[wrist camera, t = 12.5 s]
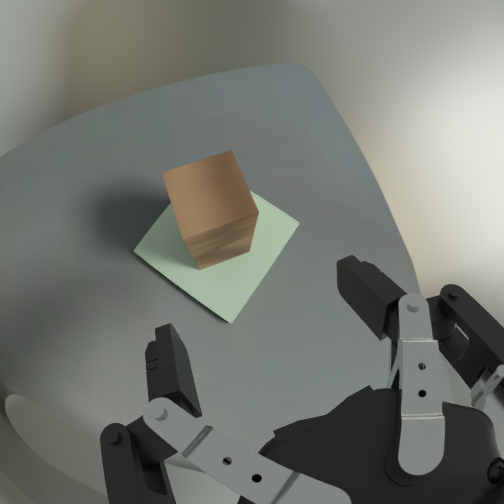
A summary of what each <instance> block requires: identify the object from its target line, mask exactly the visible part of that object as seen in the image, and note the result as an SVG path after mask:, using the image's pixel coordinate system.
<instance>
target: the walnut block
mask: <svg viewBox="0 0 504 504" xmlns="http://www.w3.org/2000/svg"><path fill="white" fill-rule="evenodd" d="M162 175H163V178H164V181H165V185H166V188H167V191H168V195H169V198H170V201H171V204H172V207H173V211H174V214H175V217H176V220H177V223H178V226H179V229H180V232H181V235H182V238H183V240H184V242H185V244H186V246H187V248H188V249H189V251H190V253H191V255H192V257H193V258H194V260H195V262H196V264H197V265H198V267H199V269H200V270H202V269H205V268H207V267H210V266H213V265H215V264H218V263H221V262H223V261H226V260H229V259H231V258H234V257H237V256H239V255H242V254H245V253H247V252H249V251H250V247H251V243H252V239H253V235H254V231H255V227H256V223H257V219H258V215H259V211H258V208H257V206H256V204H255V202H254V199H253V197H252V195H251V193H250V190H249V188H248V186H247V184H246V181H245V179H244V177H243V175H242V172H241V170H240V168H239V166H238V164H237V161H236V159H235V157H234V155H233V152H232V150H230V151H227V152H224V153H221V154H217V155H214V156H211V157H208V158H205V159H202V160H199V161H196V162H193V163H190V164H187V165H184V166H181V167H178V168H175V169H173V170H170V171H167V172H164V173H162Z"/></svg>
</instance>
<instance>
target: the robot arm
mask: <svg viewBox="0 0 504 504" xmlns="http://www.w3.org/2000/svg"><path fill="white" fill-rule="evenodd" d="M337 286H338V290H339V293H340V295H341V296H342V297H343V299H344V300H345V301H346V302H347V303H348V304H349V305H350V306H351V308H352V309H353V310H354V311H355V312H356V313H357V314H358V315H359V317H360V318H361V319H362V320H363V321H364V322H365V323H366V325H367V326H368V327H369V328H370V329H371V330H372V332H373V333H374V334H375V335H376V336H377V337H378V338H379V340H380V341H381V340H382V339H384V338H386V337H389V338H390V339H391V341H390V359H389V377H388V382H387V388H384V389H376V390H373V389H372V388H371V387H370V385H369V386H367V387H365V388H363V389H362V390H360V391H358V392H356V393H354V394H353V395H351V396H349V397H347V398H346V399H345V400H344V401H343V402H341V403H340V404H339V405H338V406H337V407H336V408H334V409H333V410H332V411H331V412H330V413H328V414H326V415H323V416H319V417H314V418H309V419H304V420H299V421H296V422H294V423H292V424H289V425H287V426H284V427H282V428H279V429H277V430H274V431H273V432H274V434H275V437H274V438H272V439H271V440H270V441H268V442H267V443H266V444H265V445H264V446H263V447H262V448H261V450H260V451H259V452H258V453H256V452H254V451H252V450H250V449H249V448H247V447H245V446H243V445H241V444H240V443H238V442H236V441H235V440H233V439H231V438H229V437H228V436H226V435H224V434H223V433H221V432H220V431H218V430H216V429H215V428H213V427H211V426H207V425H205V424H204V423H202V422H201V421H199V420H198V419H196V418H198V417H201V416H202V412H201V408H200V404H199V400H198V396H197V392H196V388H195V383H194V379H193V374H192V370H191V365H190V361H189V356H188V353H187V350H186V348H185V345H184V344H183V342H182V340H181V339H180V337H179V335H178V333H177V332H176V330H175V328H174V326H173V325H172V324H171V323H170V324H167V325H164V326H161V327H158V328H156V329H155V335H156V341H152V342H149V344H148V346H147V349H146V352H145V359H146V370H147V372H146V374H147V386H148V397H149V403H148V404H147V405H146V407H145V409H144V411H143V415H142V416H141V417H140V418H138V419H137V420H135V421H134V422H132V423H130V424H128V425H127V426H124V425H122V424H120V423H112V424H110V425H108V426H107V427H105V428H104V430H103V431H102V433H101V437H100V443H101V453H102V461H103V469H104V476H105V481H106V488H107V493H108V499H109V504H176V501H175V498H174V495H173V492H172V489H171V485H170V482H169V479H168V475H167V472H166V468H165V464H164V460H165V459H167V458H169V457H171V456H172V455H174V454H176V453H177V452H180V453H181V454H182V455H183V456H184V457H185V458H186V459H188V460H189V461H190V462H192V463H193V464H194V465H196V466H197V467H199V468H200V469H201V470H203V471H204V472H206V473H207V474H209V475H210V476H211V477H213V478H214V479H216V480H217V481H219V482H220V483H222V484H224V485H225V486H227V487H229V488H230V489H232V490H233V491H235V492H237V493H238V494H240V495H241V496H240V498H239V501H238V503H237V504H504V460H503V458H502V457H501V455H500V453H499V450H498V446H497V442H496V436H495V429H496V428H497V427H498V426H499V425H500V424H501V423H502V422H503V421H504V328H503V327H502V326H501V325H500V324H499V323H498V322H497V321H496V320H495V319H494V318H493V317H492V316H491V315H490V314H489V313H488V312H487V311H486V310H485V309H484V308H483V307H482V306H481V305H480V304H479V303H478V302H477V301H476V300H475V299H473V298H472V297H471V296H470V295H469V294H468V293H467V292H466V291H465V290H464V289H462V288H461V287H460V286H457V285H453V284H449V285H445V286H444V287H443V288H442V289H441V292H440V295H439V296H435V297H431V298H427V299H424V297H422V296H420V295H418V294H407V293H406V292H405V291H403V290H402V289H401V288H400V287H399V286H398V285H397V284H396V283H394V282H393V281H392V280H391V279H390V278H389V277H387V276H386V275H385V274H384V273H383V272H381V270H379V269H378V268H377V267H376V266H375V265H373V264H371V263H368V262H366V261H363V262H360V261H359V260H358V259H357V258H356V257H355V256H353V255H350V256H348V257H345V258H343V259H341V260H338V261H337ZM456 325H458V326H459V327H460V328H461V329H462V331H463V332H464V333H465V334H466V335H467V336H468V338H469V340H468V339H467V338H466V337H465V336H464V335H463V334H462V333H461V332H460V331H459V329H458V328H457V327H456ZM439 351H440V352H441V353H442V354H443V355H444V356H445V358H446V359H447V360H448V361H449V363H450V364H451V365H452V366H453V368H454V369H455V370H456V371H457V373H458V374H459V375H460V376H461V377H462V379H463V380H464V381H465V383H466V384H467V385H468V387H469V388H470V389H471V399H472V401H471V405H472V406H473V407H474V408H471V407H466V406H461V405H457V404H453V403H448V402H444V401H442V385H441V368H440V356H439Z"/></svg>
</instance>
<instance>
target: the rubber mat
mask: <svg viewBox="0 0 504 504" xmlns="http://www.w3.org/2000/svg"><path fill="white" fill-rule="evenodd" d="M250 193H251V195H252V197H253V199H254V202H255V204H256V206H257V208H258V211H259V215H258V219H257V223H256V227H255V231H254V235H253V239H252V243H251V247H250V251H249V252H247V253H245V254H242V255H239V256H237V257H234V258H231V259H229V260H226V261H223V262H221V263H218V264H215V265H213V266H210V267H207V268H205V269H202V270H200V269H199V267H198V265H197V264H196V262H195V260H194V258H193V257H192V255H191V253H190V251H189V249H188V248H187V246H186V244H185V242H184V240H183V238H182V235H181V232H180V229H179V226H178V223H177V220H176V217H175V214H174V211H173V207H172V204H171V203H170V204H169V206H168V207H167V208H166V209H165V210H164V212H163V213H162V214H161V215H160V217H159V218H158V219H157V220H156V222H155V223H154V224H153V226H152V227H151V228H150V229H149V231H148V232H147V233H146V235H145V236H144V237H143V238H142V240H141V241H140V242H139V244H138V245H137V246H136V248H135V249H134V250H133V251H134V252H135V253H136V254H138V255H139V256H140V257H141V258H143V259H144V260H145V261H146V262H148V263H149V264H150V265H152V266H153V267H154V268H155V269H157V270H158V271H159V272H161V273H162V274H163V275H164V276H166V277H167V278H168V279H170V280H171V281H172V282H174V283H175V284H176V285H178V286H179V287H180V288H182V289H183V290H184V291H186V292H187V293H188V294H190V295H191V296H193V297H194V298H195V299H197V300H198V301H199V302H201V303H202V304H204V305H205V306H206V307H208V308H209V309H211V310H212V311H213V312H215V313H216V314H218V315H219V316H221V317H222V318H223V319H225V320H226V321H228V322H229V323H231V324H232V322H233V321H234V319H235V318H236V316H237V315H238V314H239V312H240V311H241V309H242V308H243V306H244V305H245V304H246V302H247V301H248V299H249V298H250V296H251V295H252V293H253V292H254V290H255V289H256V288H257V286H258V285H259V283H260V282H261V280H262V279H263V277H264V276H265V274H266V273H267V271H268V270H269V268H270V267H271V266H272V264H273V263H274V261H275V260H276V258H277V257H278V255H279V254H280V252H281V251H282V249H283V248H284V246H285V245H286V243H287V242H288V240H289V239H290V237H291V236H292V234H293V233H294V231H295V230H296V228H297V227H298V225H299V224H300V223H299V222H297V221H296V220H294V219H293V218H291V217H290V216H288V215H287V214H285V213H284V212H282V211H281V210H279V209H278V208H276V207H275V206H273V205H272V204H270V203H268V202H267V201H265V200H264V199H262V198H261V197H259V196H258V195H256V194H254V193H253V192H251V191H250Z"/></svg>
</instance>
